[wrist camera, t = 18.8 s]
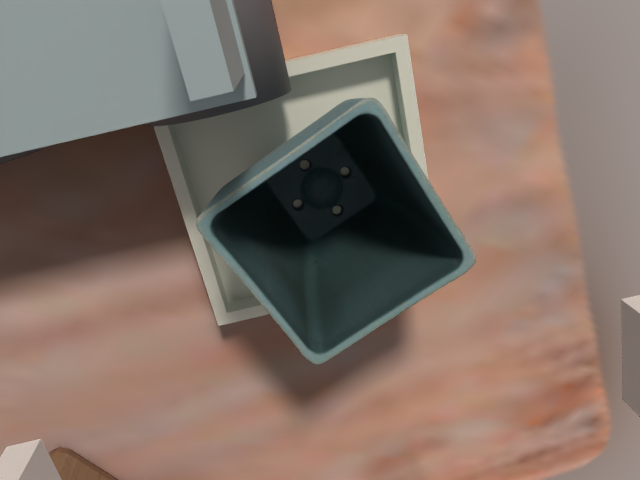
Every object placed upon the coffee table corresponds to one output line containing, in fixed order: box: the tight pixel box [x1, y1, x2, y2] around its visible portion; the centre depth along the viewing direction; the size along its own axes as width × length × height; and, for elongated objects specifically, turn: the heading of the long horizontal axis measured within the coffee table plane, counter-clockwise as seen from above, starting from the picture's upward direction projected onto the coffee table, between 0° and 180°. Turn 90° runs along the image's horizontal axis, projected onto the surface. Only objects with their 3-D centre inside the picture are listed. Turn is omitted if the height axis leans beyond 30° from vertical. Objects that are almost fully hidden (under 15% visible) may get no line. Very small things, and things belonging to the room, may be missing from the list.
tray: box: [153, 34, 428, 326], centre depth 31 cm, size 13×13×2 cm
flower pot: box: [196, 98, 476, 365], centre depth 27 cm, size 9×9×9 cm
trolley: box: [0, 0, 292, 163], centre depth 21 cm, size 19×9×15 cm, turn 102°
